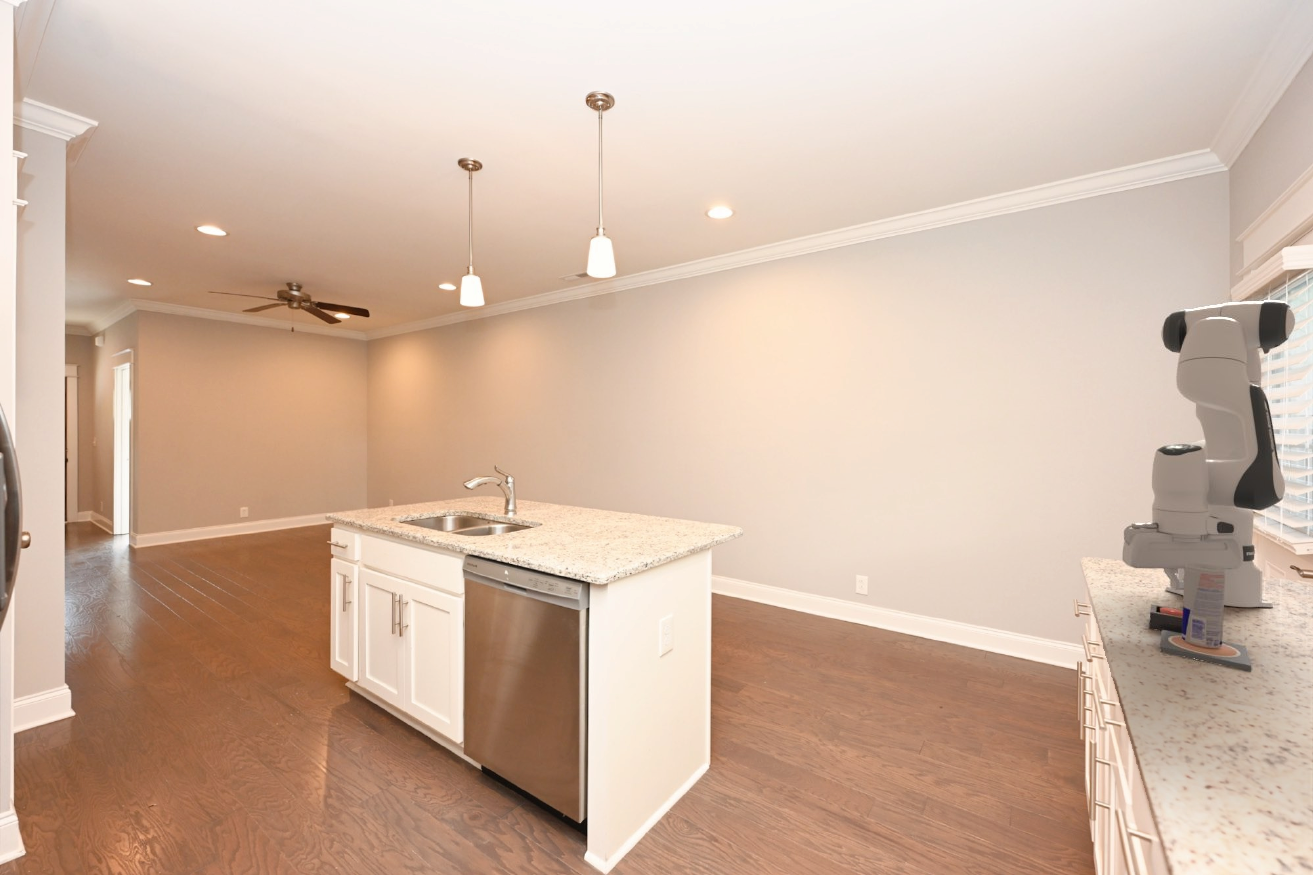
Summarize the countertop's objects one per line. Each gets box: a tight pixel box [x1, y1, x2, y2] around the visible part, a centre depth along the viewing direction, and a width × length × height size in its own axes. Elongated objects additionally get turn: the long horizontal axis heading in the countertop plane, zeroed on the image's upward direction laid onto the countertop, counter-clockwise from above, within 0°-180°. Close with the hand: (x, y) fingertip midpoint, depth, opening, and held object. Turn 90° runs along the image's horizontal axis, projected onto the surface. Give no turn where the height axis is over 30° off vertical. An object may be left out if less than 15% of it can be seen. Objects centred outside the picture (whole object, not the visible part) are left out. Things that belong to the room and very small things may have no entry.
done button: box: [1160, 606, 1183, 617], centre depth 121 cm, size 4×4×2 cm
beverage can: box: [1182, 563, 1225, 648], centre depth 110 cm, size 6×6×15 cm
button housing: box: [1149, 603, 1183, 633], centre depth 122 cm, size 7×7×4 cm
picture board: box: [1159, 630, 1252, 672], centre depth 110 cm, size 12×12×1 cm
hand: (1181, 588), depth 121 cm, fingers closed
